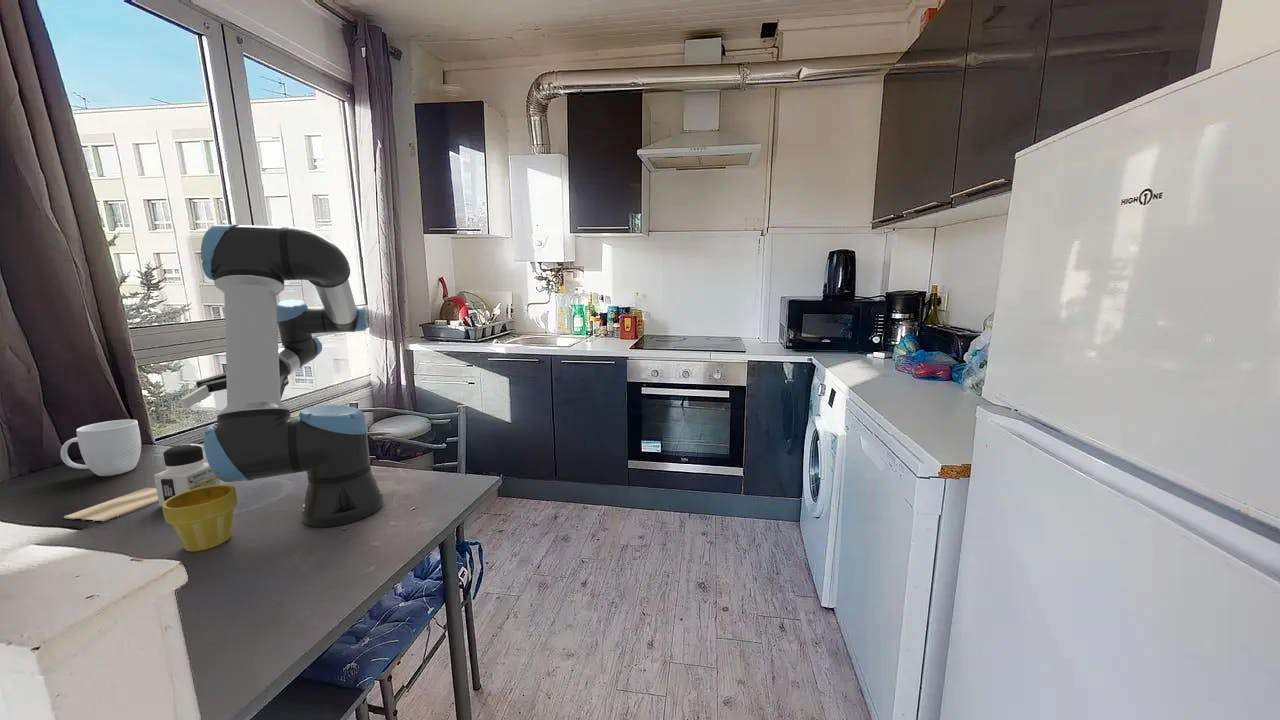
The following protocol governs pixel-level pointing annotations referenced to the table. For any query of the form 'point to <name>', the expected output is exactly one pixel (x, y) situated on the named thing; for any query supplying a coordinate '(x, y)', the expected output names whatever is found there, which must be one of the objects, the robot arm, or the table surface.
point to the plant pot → (202, 516)
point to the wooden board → (117, 506)
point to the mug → (107, 447)
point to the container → (183, 472)
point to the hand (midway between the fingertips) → (212, 407)
